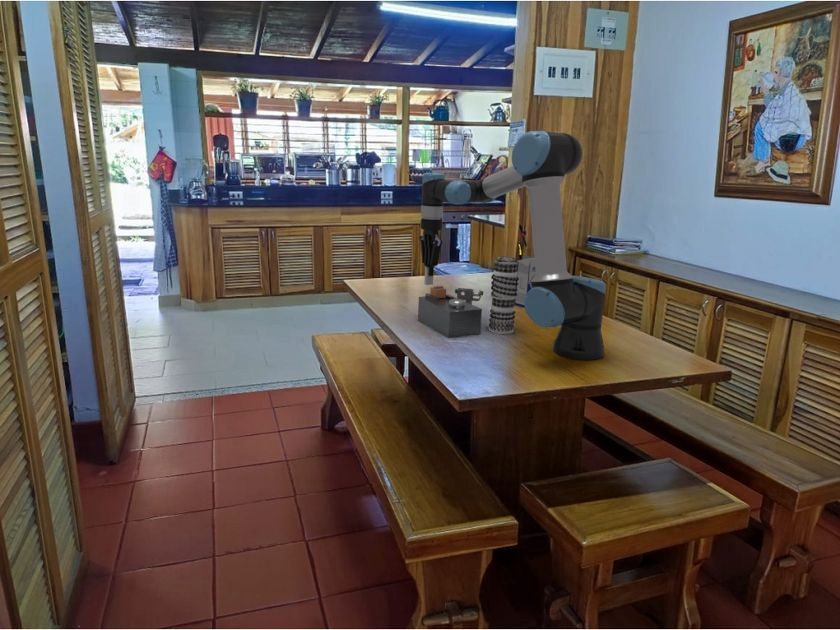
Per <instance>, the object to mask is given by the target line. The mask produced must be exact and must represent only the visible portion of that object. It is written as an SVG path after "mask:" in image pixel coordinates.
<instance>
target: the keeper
mask: <svg viewBox="0 0 840 630" xmlns="http://www.w3.org/2000/svg"><path fill="white" fill-rule="evenodd" d="M429 292H430V293H429V294H430V295H433V296H435V297H437V298H446V294H447V289H446V288H444V286H443V285H439V286H432V287H430V291H429Z"/></svg>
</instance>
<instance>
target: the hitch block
mask: <svg viewBox="0 0 840 630" xmlns="http://www.w3.org/2000/svg"><path fill="white" fill-rule="evenodd" d="M451 299H458V298H457V296H456V297H455V296H453V295H451V294H447V293H446V298H437V297H435V296H433V295H430V293H425V296H418V308H417V309H418V310H417V321H419V322H421V323H422V324H424V325H426V326H427V327H429V328H431V329H433V330H434V331H437V332H438V333H440V334H442V335H443V336H445V337H447V338H448V339H450V338H457V337H464V336H466V337H467V336H474V335H481V328H482V327H481V325H482V313H483V312H482V311H483V309H482V308H480V307H478V306H476V305H474V304H473V303H472V304H469V303H467V302H465V307H464V308H452V307H449V300H451Z"/></svg>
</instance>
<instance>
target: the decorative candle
mask: <svg viewBox="0 0 840 630" xmlns="http://www.w3.org/2000/svg"><path fill="white" fill-rule="evenodd" d="M517 261H518V260H517V258H516V257H515V256H506V255H502V256H501V255H500V256H498V257H497V258H496V259H495V260H494V261H493V262H494V270H493V273H492V274H491V278H490V279H491V286H490V289H491V292H490V297H491V299H492V300H491V305H490V309H489V313H490V314H489V317H490V318H489V319H488V322H489V324H488V331H489V332H491V333H494V334H498V335H510V334H512V333H514V332H515V330H514V328H515V320H514V319H515V318H516V315H515V314H516V311H515V310H516V309H515V307H516V305H514V303H515V299H516V296H517V293H515V291H518V289H517V288H515V286H516V285H518V283H517V282H516V281H518V280H519V278H517V272H518V271H517V266H518V263H519V262H517Z"/></svg>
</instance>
